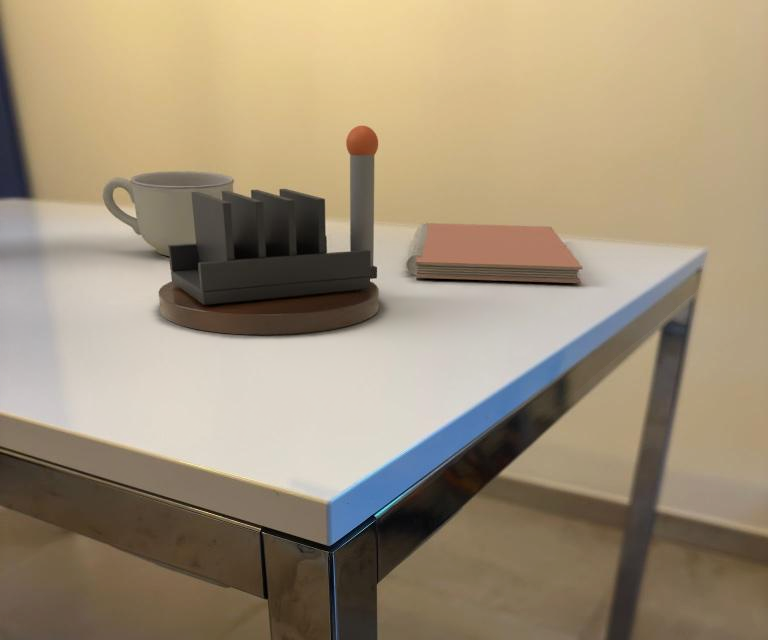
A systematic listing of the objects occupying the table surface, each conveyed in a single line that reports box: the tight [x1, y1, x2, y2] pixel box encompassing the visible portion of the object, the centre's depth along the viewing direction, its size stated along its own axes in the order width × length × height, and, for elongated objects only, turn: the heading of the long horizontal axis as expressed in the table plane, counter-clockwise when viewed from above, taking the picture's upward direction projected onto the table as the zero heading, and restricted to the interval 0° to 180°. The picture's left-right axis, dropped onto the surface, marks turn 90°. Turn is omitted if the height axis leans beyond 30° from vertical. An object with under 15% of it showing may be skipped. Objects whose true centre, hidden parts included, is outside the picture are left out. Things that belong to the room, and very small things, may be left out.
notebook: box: [405, 222, 583, 284], centre depth 87 cm, size 27×17×2 cm, turn 175°
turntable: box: [158, 280, 380, 336], centre depth 65 cm, size 18×18×2 cm
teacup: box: [102, 170, 235, 257], centre depth 85 cm, size 14×11×8 cm
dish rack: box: [168, 125, 379, 305], centre depth 62 cm, size 17×9×12 cm, turn 118°
